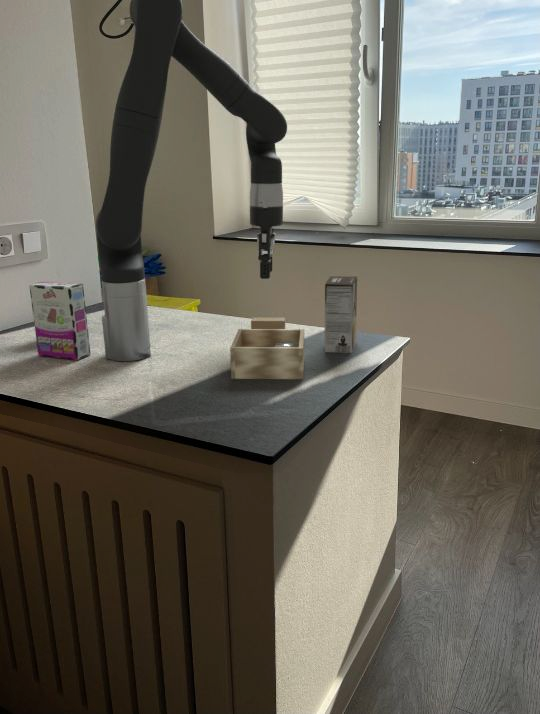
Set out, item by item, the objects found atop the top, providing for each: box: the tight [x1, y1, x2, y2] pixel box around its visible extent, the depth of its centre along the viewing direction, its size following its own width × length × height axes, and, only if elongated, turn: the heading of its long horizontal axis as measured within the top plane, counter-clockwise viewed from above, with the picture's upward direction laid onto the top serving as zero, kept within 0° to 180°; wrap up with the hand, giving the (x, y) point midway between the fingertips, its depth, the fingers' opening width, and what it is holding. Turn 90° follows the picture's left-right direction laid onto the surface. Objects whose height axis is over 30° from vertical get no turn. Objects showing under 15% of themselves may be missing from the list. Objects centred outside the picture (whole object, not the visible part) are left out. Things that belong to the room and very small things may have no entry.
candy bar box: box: [28, 281, 91, 361], centre depth 142 cm, size 11×5×16 cm, turn 68°
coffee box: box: [324, 275, 358, 354], centre depth 143 cm, size 9×6×16 cm
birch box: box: [229, 328, 305, 380], centre depth 131 cm, size 14×14×7 cm
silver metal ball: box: [275, 342, 294, 347], centre depth 134 cm, size 4×4×4 cm
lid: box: [250, 317, 286, 329], centre depth 154 cm, size 15×15×6 cm
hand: (266, 275), depth 150 cm, fingers open, 8 cm apart
